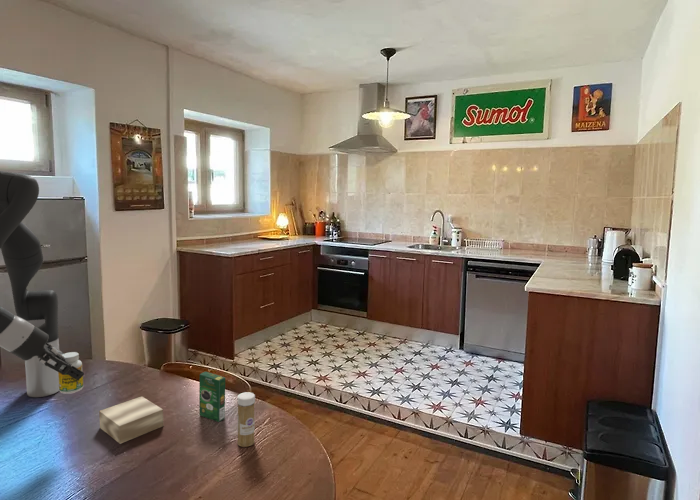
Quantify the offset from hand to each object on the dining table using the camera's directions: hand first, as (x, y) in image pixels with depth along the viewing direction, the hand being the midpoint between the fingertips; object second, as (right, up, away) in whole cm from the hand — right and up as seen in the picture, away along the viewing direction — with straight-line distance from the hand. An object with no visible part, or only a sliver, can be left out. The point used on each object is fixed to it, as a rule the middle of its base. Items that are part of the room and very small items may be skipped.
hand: (78, 372), depth 118 cm
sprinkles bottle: (+44, -20, +2) cm, 48 cm away
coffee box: (+31, -17, +14) cm, 38 cm away
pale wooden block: (+10, -17, +8) cm, 22 cm away
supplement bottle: (-2, -5, -1) cm, 5 cm away
